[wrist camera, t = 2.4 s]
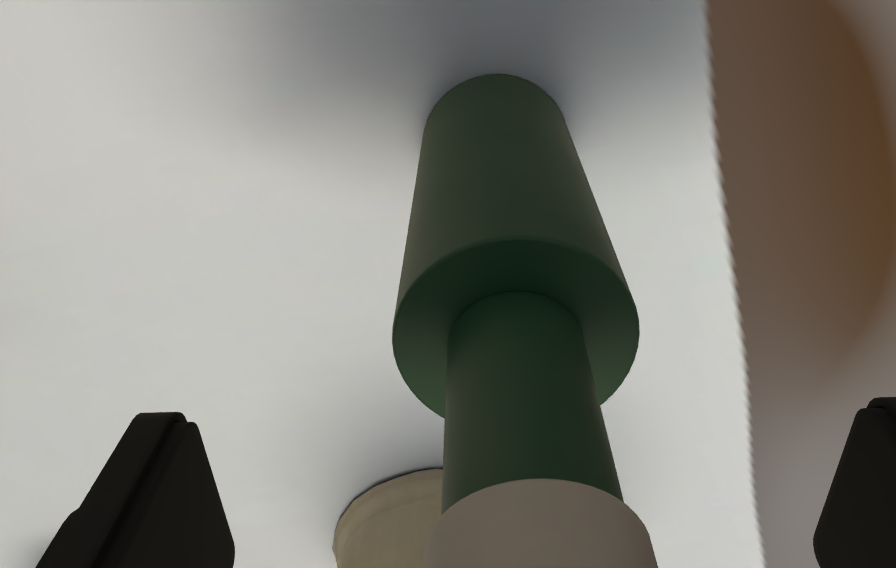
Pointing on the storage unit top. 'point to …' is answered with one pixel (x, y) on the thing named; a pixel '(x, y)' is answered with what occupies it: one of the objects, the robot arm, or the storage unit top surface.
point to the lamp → (390, 523)
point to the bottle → (516, 336)
